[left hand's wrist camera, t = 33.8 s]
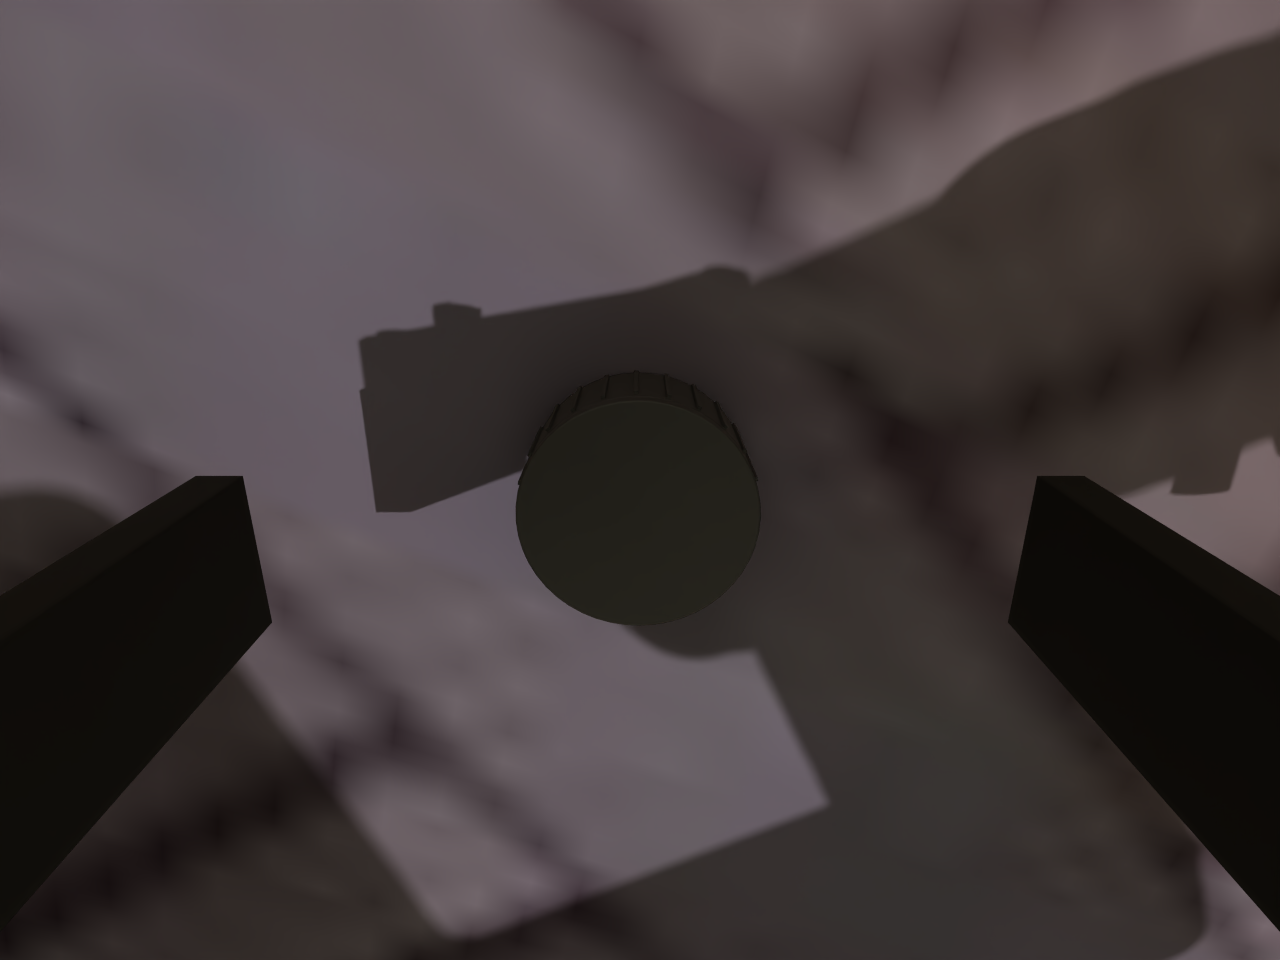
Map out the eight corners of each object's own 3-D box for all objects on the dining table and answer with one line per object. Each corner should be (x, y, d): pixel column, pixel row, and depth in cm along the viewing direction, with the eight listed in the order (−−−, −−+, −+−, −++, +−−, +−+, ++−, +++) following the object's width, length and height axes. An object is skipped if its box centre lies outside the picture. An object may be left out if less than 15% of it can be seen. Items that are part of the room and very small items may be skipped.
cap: (509, 387, 15) (488, 418, 13) (734, 354, 15) (751, 380, 13) (552, 585, 17) (539, 642, 14) (756, 558, 16) (773, 611, 14)
